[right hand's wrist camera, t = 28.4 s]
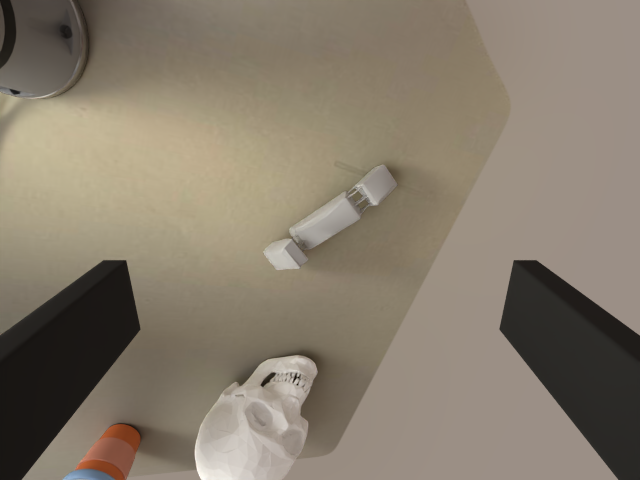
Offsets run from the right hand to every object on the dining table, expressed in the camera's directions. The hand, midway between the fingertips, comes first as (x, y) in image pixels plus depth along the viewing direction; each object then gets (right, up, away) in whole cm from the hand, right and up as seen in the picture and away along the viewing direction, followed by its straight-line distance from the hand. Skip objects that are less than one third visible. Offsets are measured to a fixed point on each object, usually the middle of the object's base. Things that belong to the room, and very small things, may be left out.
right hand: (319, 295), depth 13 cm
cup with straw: (-35, -33, +52) cm, 71 cm away
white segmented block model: (+1, +5, +38) cm, 38 cm away
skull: (-9, -23, +49) cm, 55 cm away
